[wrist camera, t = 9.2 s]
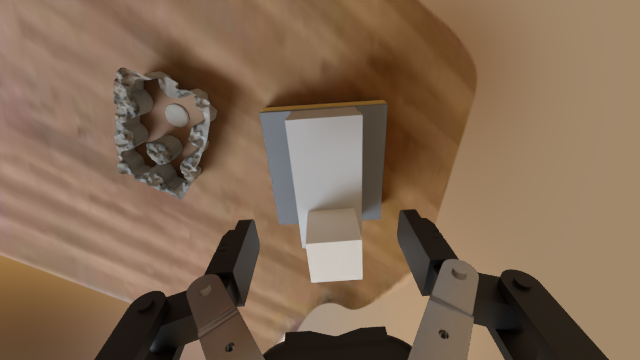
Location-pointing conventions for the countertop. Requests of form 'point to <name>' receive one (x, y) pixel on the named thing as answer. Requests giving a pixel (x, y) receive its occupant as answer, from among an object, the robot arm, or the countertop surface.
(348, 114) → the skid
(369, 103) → the dock
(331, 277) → the block
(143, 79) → the egg carton
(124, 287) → the countertop surface
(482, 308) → the robot arm
